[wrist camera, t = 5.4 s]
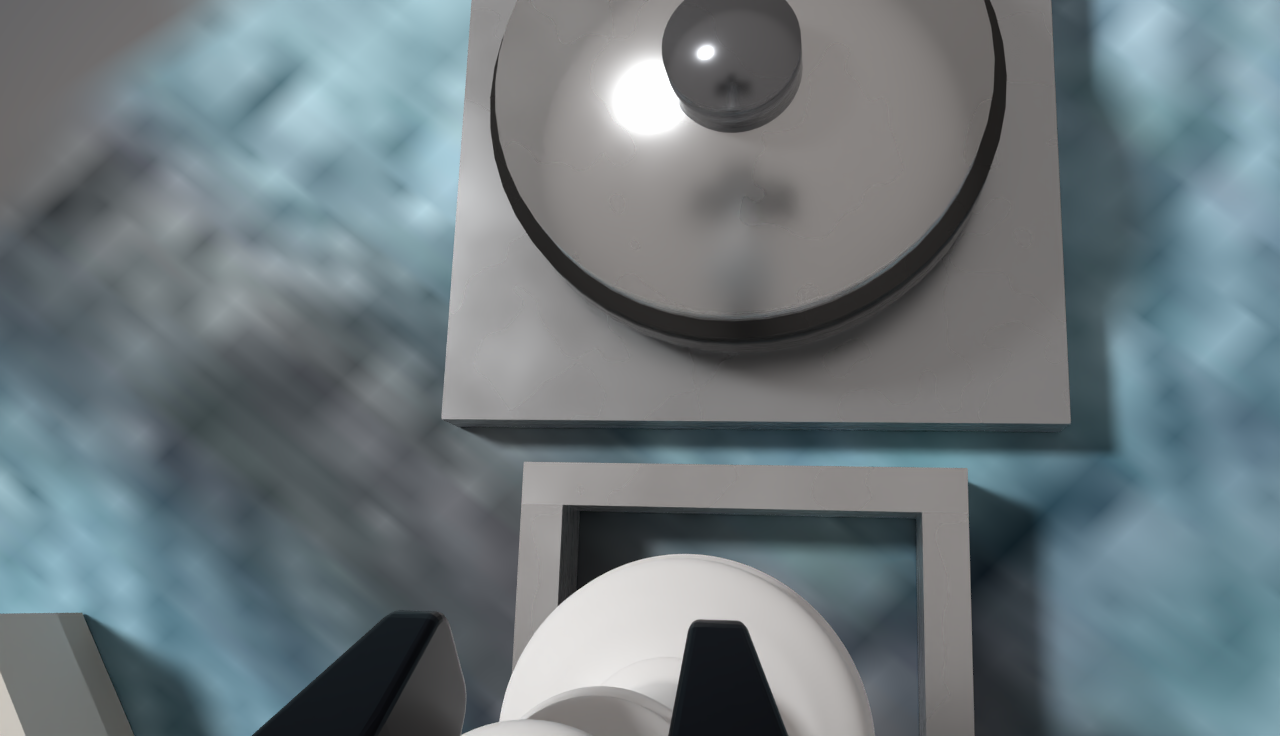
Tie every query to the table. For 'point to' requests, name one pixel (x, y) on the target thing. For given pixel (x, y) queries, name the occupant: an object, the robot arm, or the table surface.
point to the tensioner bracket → (760, 261)
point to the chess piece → (675, 653)
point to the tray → (55, 679)
